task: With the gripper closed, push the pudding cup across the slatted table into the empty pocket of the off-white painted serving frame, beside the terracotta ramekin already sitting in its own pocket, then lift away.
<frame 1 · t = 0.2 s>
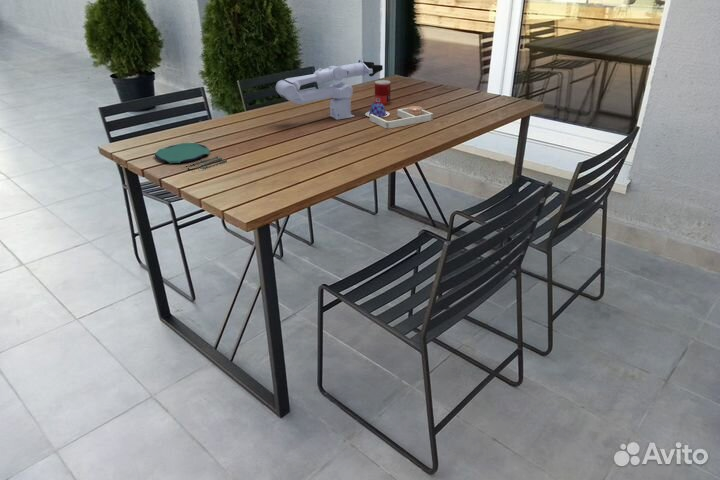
hand: (377, 66, 258), 21 cm above the table, tool horizontal, fingers open, 7 cm apart
cutlery set: (189, 160, 213), on the table
serving frame: (392, 121, 251), on the table
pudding: (377, 115, 262), on the table
ramekin: (414, 117, 256), resting in serving frame
canned food: (382, 103, 280), on the table
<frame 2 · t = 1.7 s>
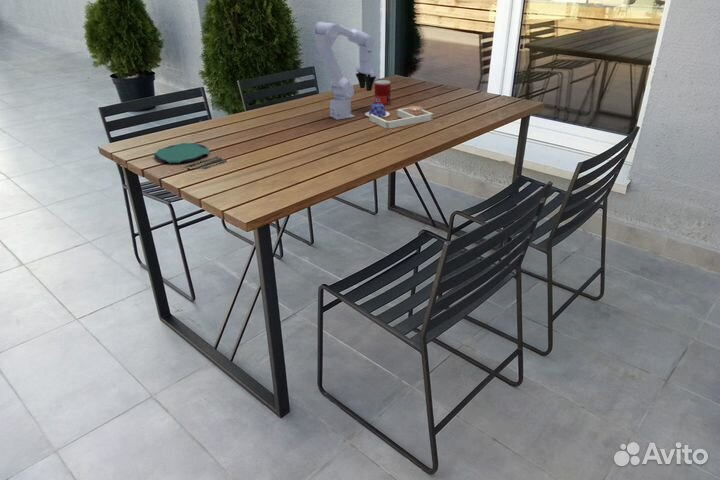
hand: (365, 89, 265), 10 cm above the table, tool pointing down, fingers open, 6 cm apart
nothing on the table moved.
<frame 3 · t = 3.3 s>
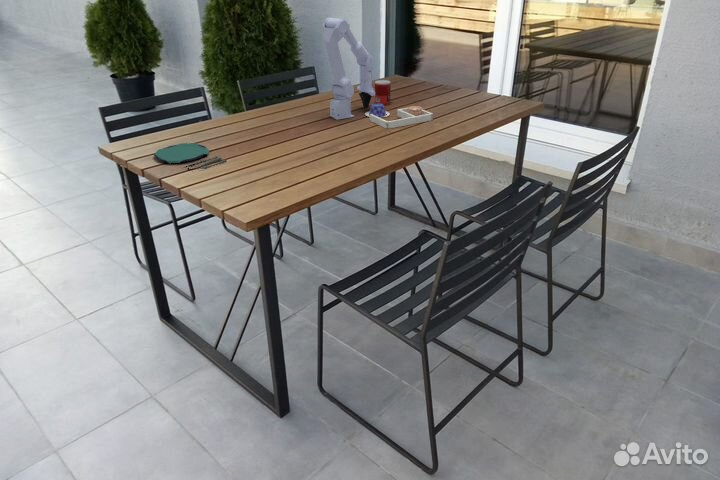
hand: (366, 107, 269), 1 cm above the table, tool pointing down, fingers closed
nothing on the table moved.
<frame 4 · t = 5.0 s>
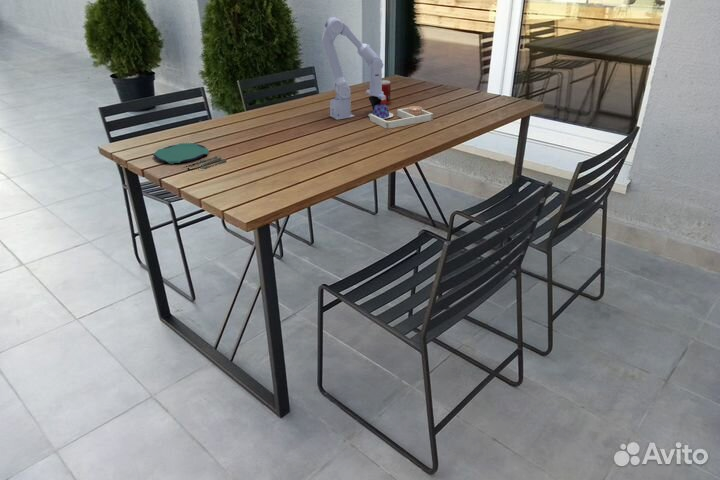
hand: (375, 111, 262), 1 cm above the table, tool pointing down, fingers closed
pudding: (380, 116, 259), on the table, touching gripper
everything else where it was.
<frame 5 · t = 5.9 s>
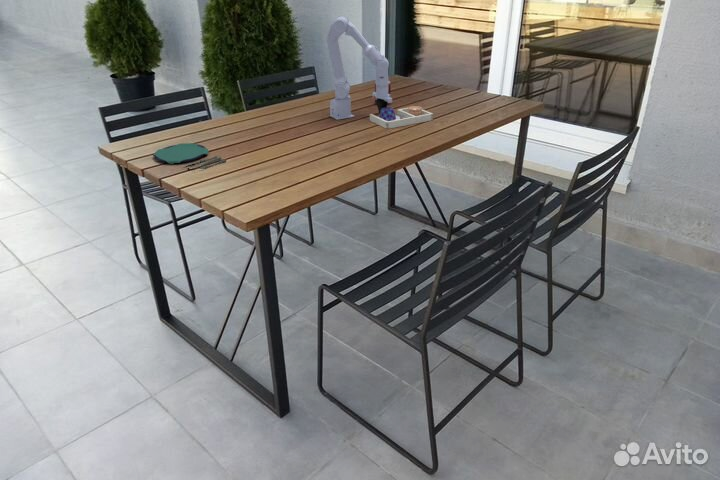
hand: (382, 114, 258), 1 cm above the table, tool pointing down, fingers closed
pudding: (387, 120, 255), resting in serving frame, touching gripper
everything else where it was.
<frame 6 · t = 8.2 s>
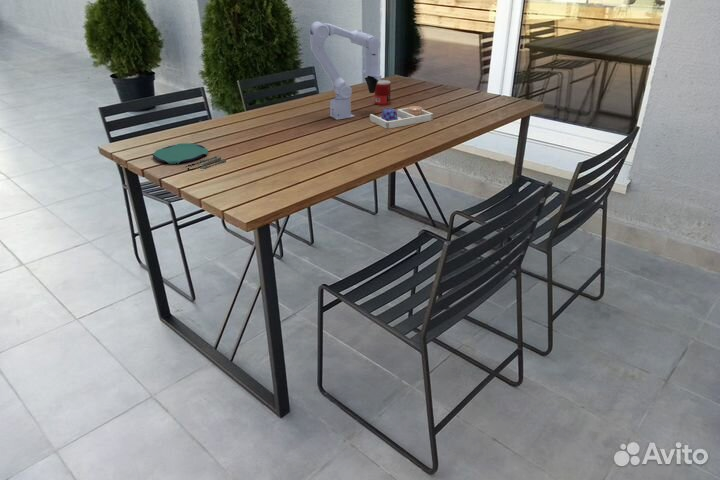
hand: (371, 92, 259), 10 cm above the table, tool pointing down, fingers closed
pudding: (389, 121, 253), resting in serving frame
everything else where it was.
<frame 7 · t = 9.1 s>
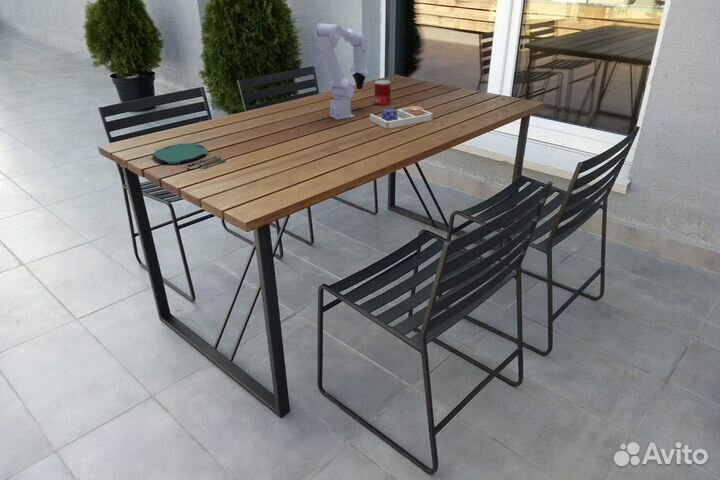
hand: (359, 88, 266), 10 cm above the table, tool pointing down, fingers closed
nothing on the table moved.
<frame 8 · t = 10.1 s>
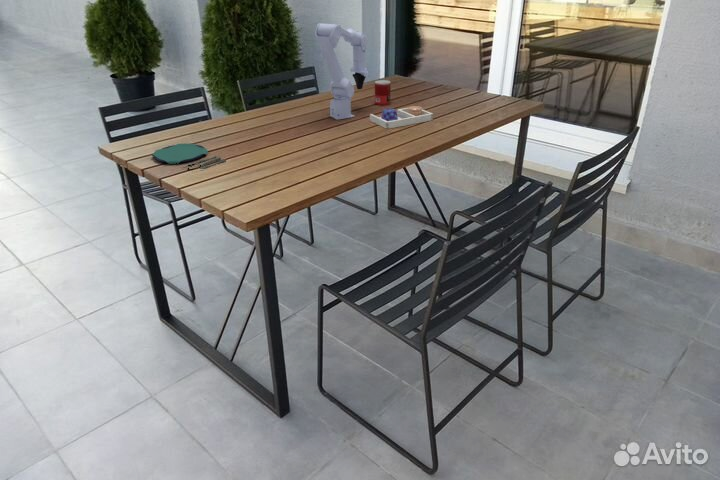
hand: (359, 88, 266), 10 cm above the table, tool pointing down, fingers closed
nothing on the table moved.
at the end: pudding inside the target area on the serving frame (2.5 cm from its centre), point -0.6 cm above the serving frame's base; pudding moved 10.8 cm from its start; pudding tilted 0° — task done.
